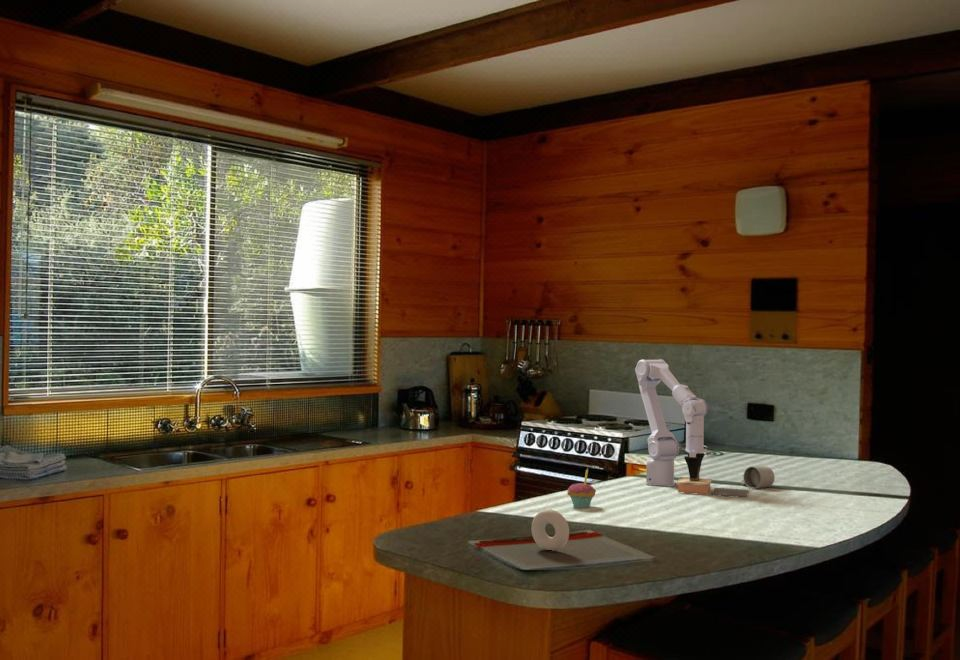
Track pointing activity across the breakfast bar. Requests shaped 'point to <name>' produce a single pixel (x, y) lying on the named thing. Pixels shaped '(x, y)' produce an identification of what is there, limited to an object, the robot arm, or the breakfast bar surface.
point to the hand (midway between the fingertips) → (694, 476)
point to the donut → (559, 525)
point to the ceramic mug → (758, 477)
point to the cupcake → (581, 493)
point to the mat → (730, 492)
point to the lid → (694, 481)
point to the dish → (693, 489)
